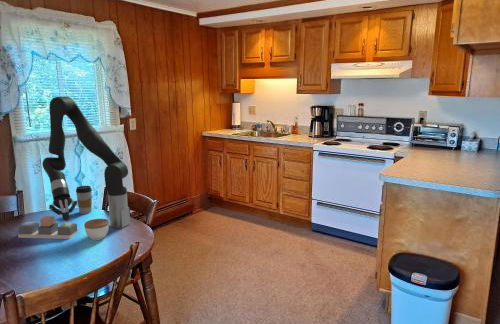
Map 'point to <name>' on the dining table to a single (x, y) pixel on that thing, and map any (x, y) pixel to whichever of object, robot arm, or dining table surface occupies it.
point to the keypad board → (47, 232)
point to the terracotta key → (47, 221)
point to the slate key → (28, 224)
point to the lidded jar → (96, 228)
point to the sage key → (66, 225)
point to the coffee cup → (84, 199)
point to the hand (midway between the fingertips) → (66, 220)
